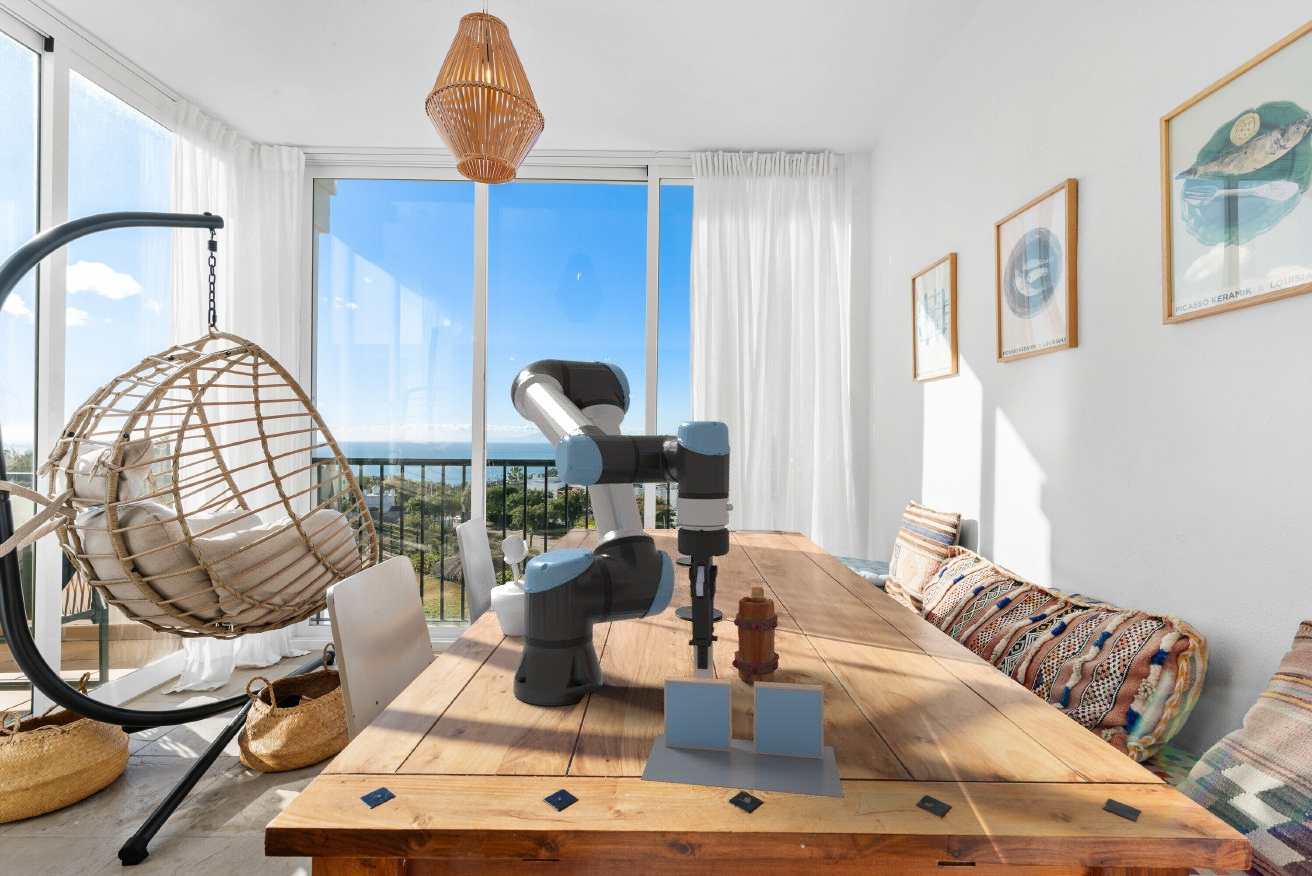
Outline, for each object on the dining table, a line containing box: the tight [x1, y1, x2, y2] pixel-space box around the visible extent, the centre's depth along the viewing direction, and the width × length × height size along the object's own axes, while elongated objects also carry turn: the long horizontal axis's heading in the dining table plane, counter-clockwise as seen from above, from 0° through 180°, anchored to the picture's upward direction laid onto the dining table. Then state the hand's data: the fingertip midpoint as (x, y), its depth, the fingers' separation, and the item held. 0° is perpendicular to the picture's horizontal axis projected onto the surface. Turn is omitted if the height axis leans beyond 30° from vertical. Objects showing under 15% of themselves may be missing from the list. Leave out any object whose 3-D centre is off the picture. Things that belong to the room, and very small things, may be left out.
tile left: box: [663, 675, 733, 752], centre depth 90 cm, size 9×2×9 cm, turn 81°
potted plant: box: [490, 527, 540, 637], centre depth 148 cm, size 13×12×25 cm
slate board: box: [640, 733, 844, 799], centre depth 86 cm, size 24×13×1 cm, turn 81°
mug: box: [731, 586, 780, 684], centre depth 122 cm, size 15×8×15 cm, turn 168°
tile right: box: [753, 681, 825, 759], centre depth 88 cm, size 9×2×9 cm, turn 81°
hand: (703, 688), depth 97 cm, fingers closed
